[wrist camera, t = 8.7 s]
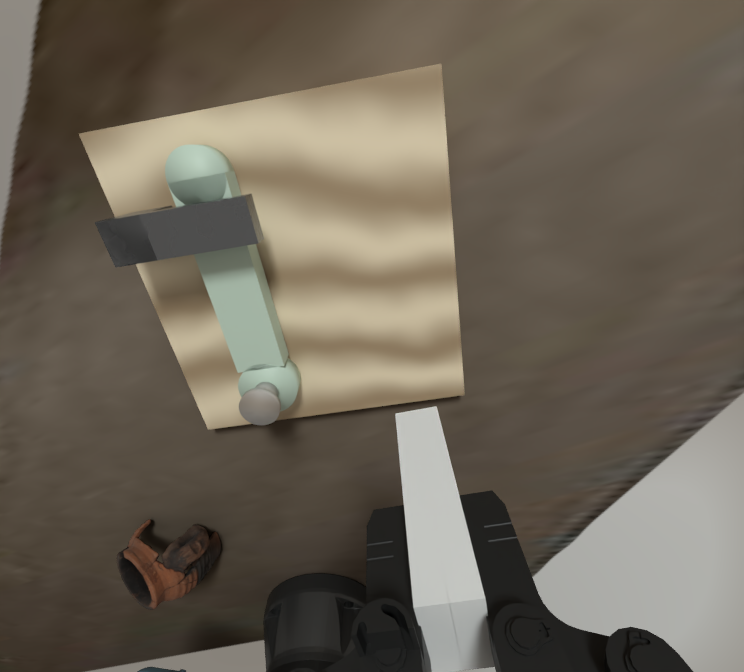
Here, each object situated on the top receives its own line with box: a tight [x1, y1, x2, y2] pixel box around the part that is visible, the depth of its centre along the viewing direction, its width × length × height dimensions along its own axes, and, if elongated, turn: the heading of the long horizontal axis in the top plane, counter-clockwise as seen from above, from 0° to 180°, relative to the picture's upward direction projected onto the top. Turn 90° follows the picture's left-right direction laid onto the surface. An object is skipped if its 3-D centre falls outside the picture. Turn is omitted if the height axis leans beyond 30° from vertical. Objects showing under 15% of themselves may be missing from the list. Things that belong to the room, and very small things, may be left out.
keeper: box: [95, 194, 264, 267], centre depth 27 cm, size 3×10×4 cm, turn 99°
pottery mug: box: [117, 520, 221, 610], centre depth 44 cm, size 12×10×8 cm
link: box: [165, 144, 301, 412], centre depth 30 cm, size 22×5×2 cm, turn 9°
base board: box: [79, 64, 465, 430], centre depth 30 cm, size 26×25×7 cm
